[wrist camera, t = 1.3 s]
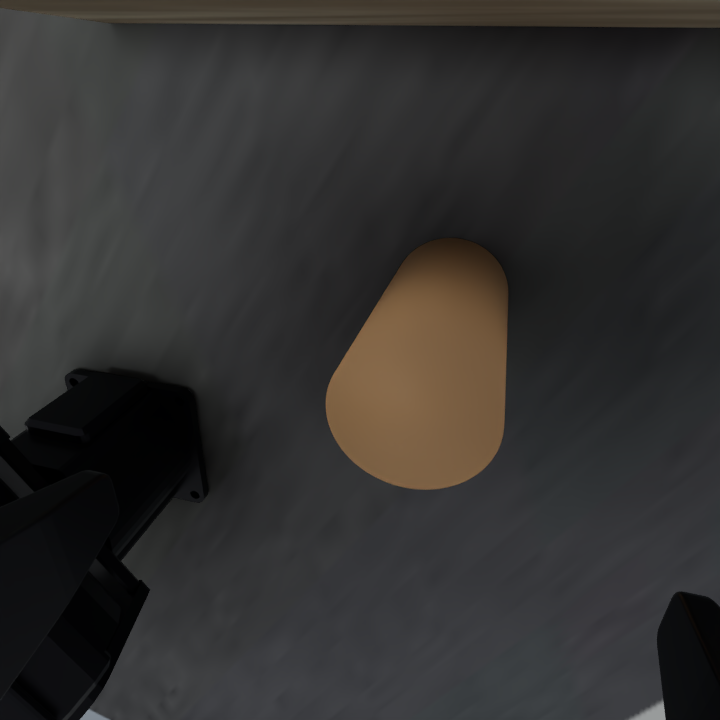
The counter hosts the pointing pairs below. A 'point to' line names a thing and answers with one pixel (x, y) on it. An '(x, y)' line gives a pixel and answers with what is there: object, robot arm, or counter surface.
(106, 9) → the box
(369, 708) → the counter surface
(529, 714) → the counter surface
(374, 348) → the peg
